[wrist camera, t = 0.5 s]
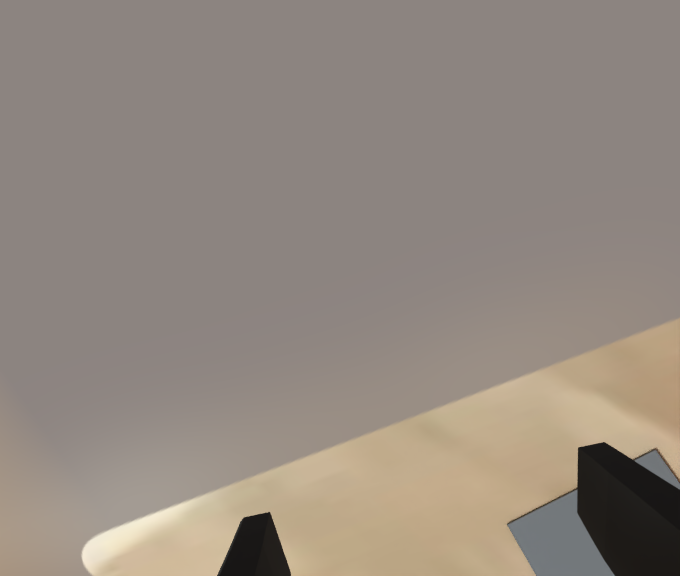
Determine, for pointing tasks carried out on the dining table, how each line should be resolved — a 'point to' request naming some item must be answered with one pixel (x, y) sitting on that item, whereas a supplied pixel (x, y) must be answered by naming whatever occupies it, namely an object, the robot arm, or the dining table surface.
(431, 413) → the dining table surface
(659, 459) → the slate mat
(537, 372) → the dining table surface
